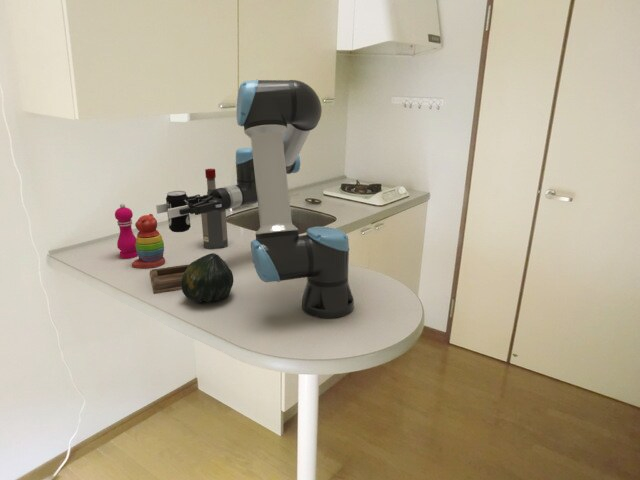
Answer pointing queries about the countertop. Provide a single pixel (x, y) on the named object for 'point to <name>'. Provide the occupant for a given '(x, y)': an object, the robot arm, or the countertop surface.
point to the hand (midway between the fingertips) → (163, 211)
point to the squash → (207, 279)
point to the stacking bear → (148, 243)
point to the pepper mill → (125, 233)
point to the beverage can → (174, 201)
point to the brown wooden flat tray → (167, 278)
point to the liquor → (214, 220)
